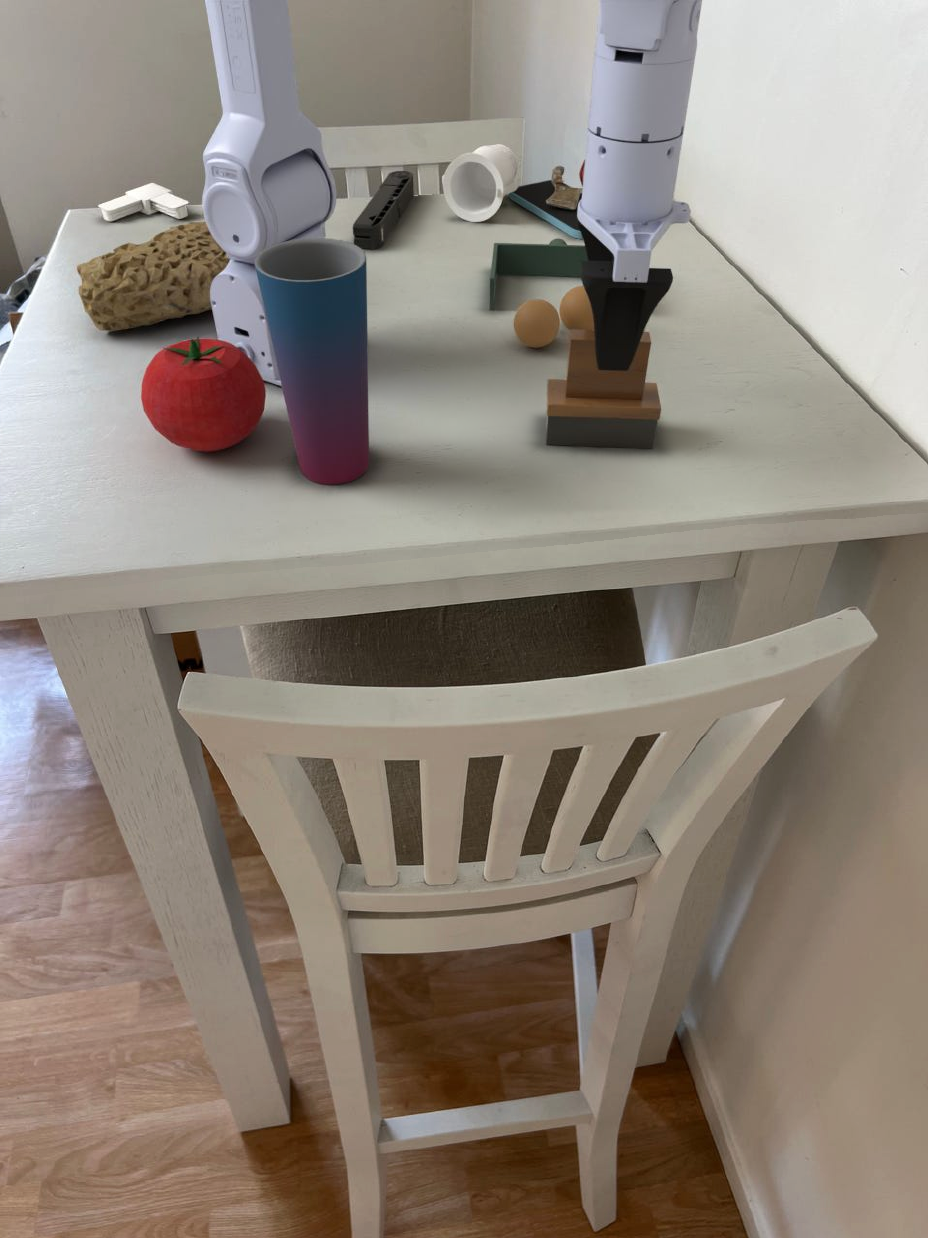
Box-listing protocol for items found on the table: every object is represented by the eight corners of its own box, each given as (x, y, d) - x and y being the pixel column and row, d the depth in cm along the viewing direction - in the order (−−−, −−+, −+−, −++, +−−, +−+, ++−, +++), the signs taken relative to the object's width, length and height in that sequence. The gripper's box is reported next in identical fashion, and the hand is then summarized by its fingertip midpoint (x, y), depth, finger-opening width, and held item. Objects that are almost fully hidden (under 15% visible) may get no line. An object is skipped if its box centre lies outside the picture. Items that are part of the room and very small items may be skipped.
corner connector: (135, 222, 96) (139, 237, 97) (194, 199, 100) (198, 214, 101) (92, 203, 100) (97, 218, 101) (152, 182, 104) (155, 196, 105)
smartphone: (578, 233, 96) (505, 188, 105) (577, 243, 96) (504, 198, 105) (632, 220, 98) (555, 178, 107) (631, 230, 99) (555, 187, 108)
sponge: (110, 364, 78) (320, 284, 81) (63, 276, 74) (288, 194, 76) (109, 327, 89) (295, 258, 91) (68, 248, 84) (265, 177, 86)
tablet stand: (391, 169, 105) (416, 170, 105) (392, 192, 107) (416, 193, 107) (350, 224, 93) (378, 226, 92) (352, 249, 94) (380, 251, 94)
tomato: (287, 453, 66) (271, 352, 60) (168, 483, 63) (139, 380, 58) (254, 398, 72) (237, 302, 66) (143, 423, 69) (115, 325, 63)
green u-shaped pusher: (626, 313, 83) (630, 282, 81) (489, 309, 84) (490, 278, 82) (618, 264, 91) (622, 234, 89) (494, 260, 92) (495, 231, 90)
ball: (590, 345, 78) (594, 301, 76) (550, 334, 80) (553, 290, 77) (609, 327, 81) (614, 284, 78) (570, 317, 82) (574, 274, 80)
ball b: (544, 359, 76) (547, 315, 74) (504, 348, 78) (505, 304, 75) (565, 341, 79) (569, 297, 76) (526, 330, 80) (528, 287, 78)
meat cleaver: (592, 206, 99) (549, 202, 98) (590, 217, 100) (547, 213, 99) (569, 164, 107) (529, 160, 106) (567, 175, 108) (527, 171, 107)
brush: (654, 449, 66) (672, 349, 61) (544, 445, 67) (551, 345, 61) (650, 423, 69) (666, 325, 64) (544, 419, 69) (551, 321, 64)
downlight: (503, 228, 99) (527, 202, 106) (509, 160, 94) (535, 138, 101) (436, 215, 101) (464, 191, 108) (439, 148, 96) (468, 127, 103)
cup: (268, 475, 64) (231, 267, 53) (322, 431, 68) (297, 230, 58) (348, 502, 61) (325, 289, 51) (398, 454, 66) (387, 249, 55)
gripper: (719, 169, 48) (678, 395, 57) (688, 98, 58) (657, 299, 68) (588, 166, 48) (568, 391, 58) (581, 96, 59) (565, 296, 68)
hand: (609, 341), depth 63 cm, fingers open, 7 cm apart
